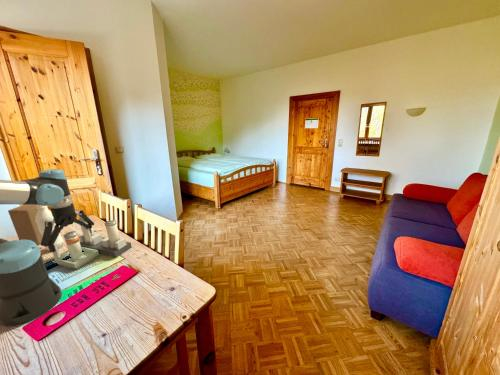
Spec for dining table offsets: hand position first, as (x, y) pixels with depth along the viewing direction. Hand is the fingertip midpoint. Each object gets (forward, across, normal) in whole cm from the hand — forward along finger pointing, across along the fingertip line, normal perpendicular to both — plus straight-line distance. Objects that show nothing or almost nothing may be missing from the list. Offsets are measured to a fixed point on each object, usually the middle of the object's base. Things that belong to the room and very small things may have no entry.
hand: (74, 248), depth 93 cm
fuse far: (+3, +10, +6) cm, 12 cm away
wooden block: (+7, +7, +40) cm, 41 cm away
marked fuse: (+5, 0, 0) cm, 5 cm away
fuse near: (+3, +10, -12) cm, 16 cm away
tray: (+6, 0, 0) cm, 6 cm away
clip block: (+6, +10, -3) cm, 13 cm away
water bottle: (+6, +4, +22) cm, 23 cm away
